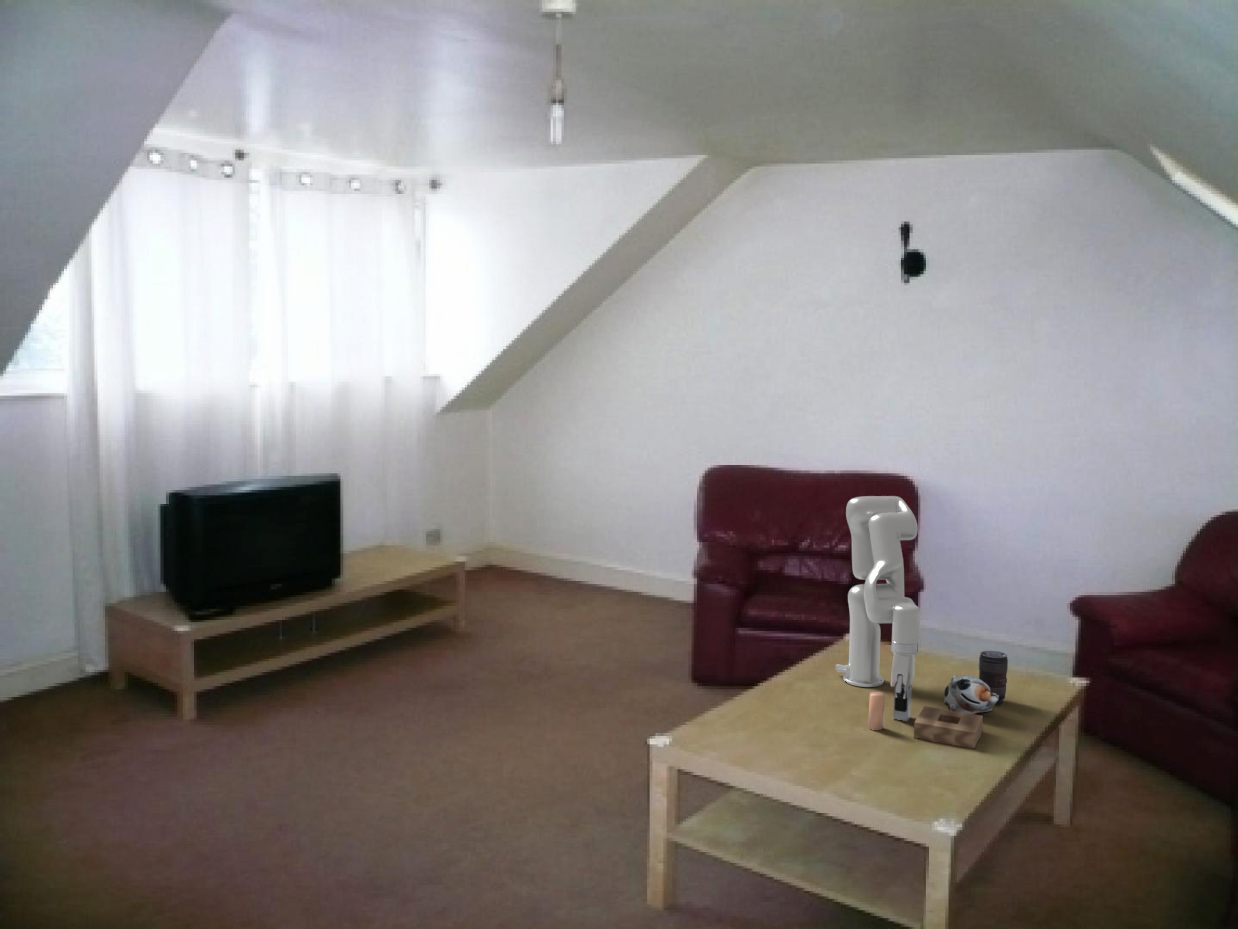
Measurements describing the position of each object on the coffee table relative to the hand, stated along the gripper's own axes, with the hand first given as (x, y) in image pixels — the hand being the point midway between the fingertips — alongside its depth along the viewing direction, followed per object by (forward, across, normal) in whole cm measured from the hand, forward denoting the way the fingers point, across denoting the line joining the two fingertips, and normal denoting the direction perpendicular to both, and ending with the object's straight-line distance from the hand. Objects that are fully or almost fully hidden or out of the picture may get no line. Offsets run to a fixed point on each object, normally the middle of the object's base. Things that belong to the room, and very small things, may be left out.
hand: (902, 707), depth 298 cm
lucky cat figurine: (+4, -16, +17) cm, 23 cm away
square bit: (+3, 0, 0) cm, 3 cm away
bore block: (+3, +6, +14) cm, 16 cm away
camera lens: (+3, -27, +21) cm, 34 cm away
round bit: (+3, +11, -5) cm, 13 cm away
